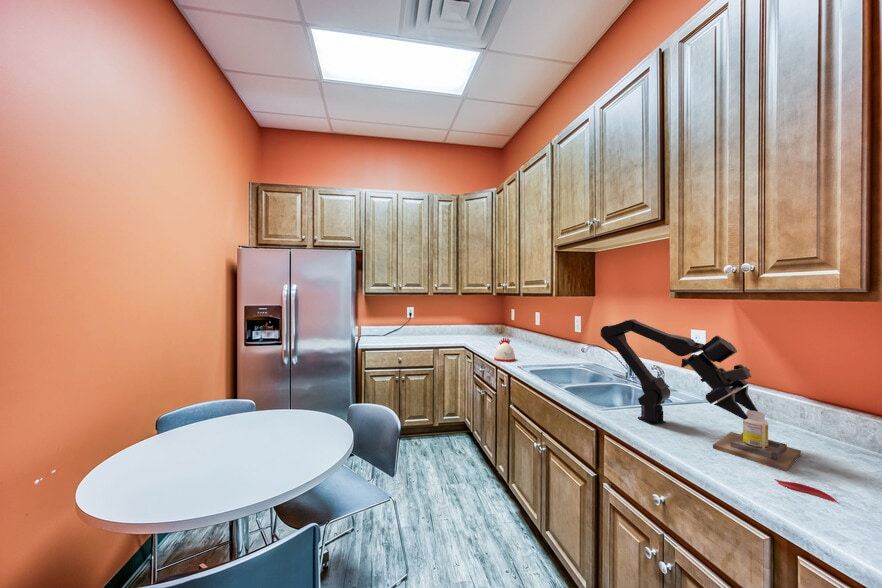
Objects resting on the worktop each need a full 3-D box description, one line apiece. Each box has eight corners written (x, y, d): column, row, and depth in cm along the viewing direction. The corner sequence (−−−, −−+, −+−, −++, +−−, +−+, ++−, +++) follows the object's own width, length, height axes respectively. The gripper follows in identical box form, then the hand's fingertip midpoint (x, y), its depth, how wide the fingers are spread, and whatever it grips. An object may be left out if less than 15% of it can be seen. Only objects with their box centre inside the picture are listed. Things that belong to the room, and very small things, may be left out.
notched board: (712, 448, 105) (712, 439, 104) (731, 435, 114) (731, 427, 114) (786, 471, 91) (786, 461, 91) (800, 454, 100) (800, 445, 100)
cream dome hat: (518, 361, 229) (518, 338, 229) (499, 362, 226) (499, 339, 226) (509, 357, 243) (509, 335, 243) (491, 358, 239) (490, 336, 239)
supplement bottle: (758, 443, 105) (758, 409, 105) (773, 452, 99) (773, 416, 99) (737, 442, 106) (738, 408, 106) (751, 450, 100) (752, 415, 100)
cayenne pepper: (767, 481, 88) (767, 473, 88) (779, 478, 89) (779, 470, 89) (832, 509, 76) (832, 501, 76) (845, 505, 78) (845, 497, 78)
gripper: (719, 360, 102) (769, 408, 93) (740, 353, 113) (786, 395, 104) (687, 380, 109) (731, 427, 100) (710, 372, 119) (751, 414, 110)
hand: (751, 415), depth 103 cm, fingers open, 9 cm apart
